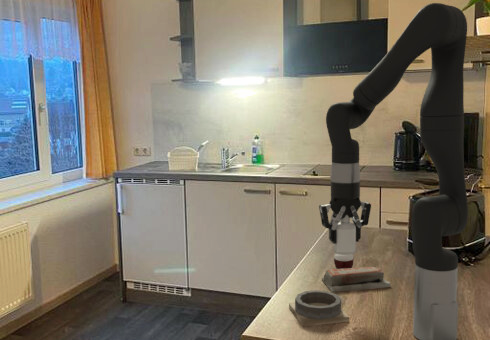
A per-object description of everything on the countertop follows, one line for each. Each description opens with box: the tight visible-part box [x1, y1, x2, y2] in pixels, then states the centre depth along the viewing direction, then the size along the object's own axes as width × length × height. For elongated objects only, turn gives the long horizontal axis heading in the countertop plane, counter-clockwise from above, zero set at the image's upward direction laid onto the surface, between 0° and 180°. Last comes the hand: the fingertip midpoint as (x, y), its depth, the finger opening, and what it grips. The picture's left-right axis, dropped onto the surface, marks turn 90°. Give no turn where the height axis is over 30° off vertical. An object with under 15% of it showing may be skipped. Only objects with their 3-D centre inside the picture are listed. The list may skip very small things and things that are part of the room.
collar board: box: [288, 289, 350, 328], centre depth 137 cm, size 12×12×4 cm
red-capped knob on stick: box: [333, 253, 355, 269], centre depth 171 cm, size 10×6×12 cm, turn 156°
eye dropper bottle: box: [333, 215, 357, 255], centre depth 141 cm, size 4×6×12 cm
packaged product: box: [321, 266, 391, 293], centre depth 158 cm, size 18×5×10 cm
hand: (344, 241), depth 141 cm, fingers closed on eye dropper bottle, 5 cm apart
